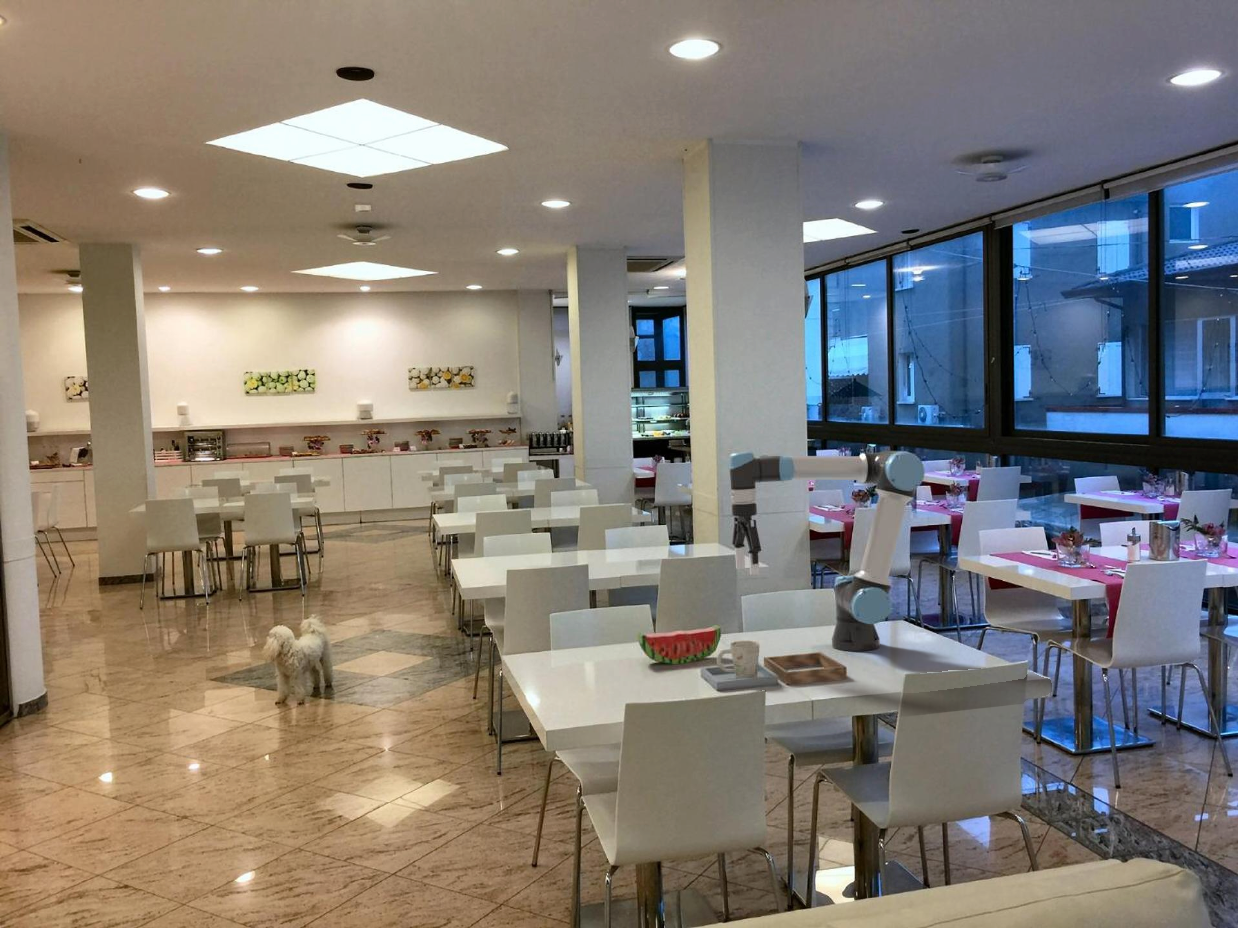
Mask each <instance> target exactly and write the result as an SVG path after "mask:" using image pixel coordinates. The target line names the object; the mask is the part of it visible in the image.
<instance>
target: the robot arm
mask: <svg viewBox="0 0 1238 928" xmlns="http://www.w3.org/2000/svg"><path fill="white" fill-rule="evenodd" d="M728 469H729V476H730V477H729V478H730V480H729V481H730V491H731V492H730V493H729V496H730V497H731V502H732V505H731V515H732V516H733V521H734V523H733V533H732V541H731V542H732V545H733V546H734V553H735V554H734V555H735V568H736V570H740V569H741V570H742V569H746V559H745V558H746V557H745V547H746V546H745V544H744V543H745V539H746V542H747V546H748V549H749V550H748V552H747V553H748V557H749V558H748V559H749V574H750V575H751V576H753V575H754V576H756V575H761V573H760V558H759V556H760V555H759V553H760V552H761V551H762V546H761V542H760V538H759V533H758V528H757V520H756V519H752V516H756V515H757V513H758V511H757V510H758V509H757V508H758V507H757V503H756V502H757V488H756V483H771V482H773V483H774V482H782V483H783V482H786V481H791V480H806V481H807V480H808V481H809V480H811V481H812V480H815V481H817V480H822V481H823V480H825V481H829V480H830V481H831V480H832V481H837V480H841V481H859V482H860V483H862V484H874V485H875V486H876V487H875V491H876V493H877V494H878V499H877V501H876V502H877V503H876V507H875V511H874V515H873V518H872V523H871V526H870V531H869V534H868V538H867V541H866V542H867V543H866V547H865V551H864V554H863V559H862V561H861V562H862V563H861V567H860V570H859V571H857V572H855V574H853V575H840V576H836V578H835V579H834V592H835V595H834V596H835V617H836V623H835V626H834V631H833V634H832V637H831V646H832V647H833V648H834V649H837V650H841V651H851V652H855V651H856V652H858V651H859V652H861V651H870V650H875V649H877V648H880V647H881V644H880V643H881V640H880V637H879V634H878V632H877V628H876V626H875V625H876V624H879V623H881V622H883V621H885V619H886V618H887V617H888V616H889V614H890V612H891V609H892V601H891V598H890V593H891V592H890V591H891V587H892V583H891V581H890V579H889V576H890V570H891V566H892V565H893V560H894V556H895V552H896V548H897V544H898V539H899V536H900V531H901V527H902V523H903V520H904V517H905V511H906V508H907V504H908V503H909V502H911V501H912V500H914V497H915V494H916V489H917V488H918V487H919V486H921V484H922V483H923V481H924V478H925V467H924V463H923V462H922V461H921V459H920V458H919V457H918V456H917V455H916V454H914V453H911V452H908V451H903V450H886V451H885V450H884V451H880V452H871V453H870V452H868V453H861V454H859V456H854V455H853V456H847V455H846V456H842V455H841V456H837V455H835V456H833V455H832V456H831V455H829V456H828V455H827V456H826V455H825V456H824V455H823V456H822V455H812V456H811V455H790V456H789V455H782V456H781V455H761V456H758V457H755V455H754V453H753V452H752V451H751V452H749V451H748V452H747V451H746V452H734V453H731V454H730V455H729V468H728Z"/></svg>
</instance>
